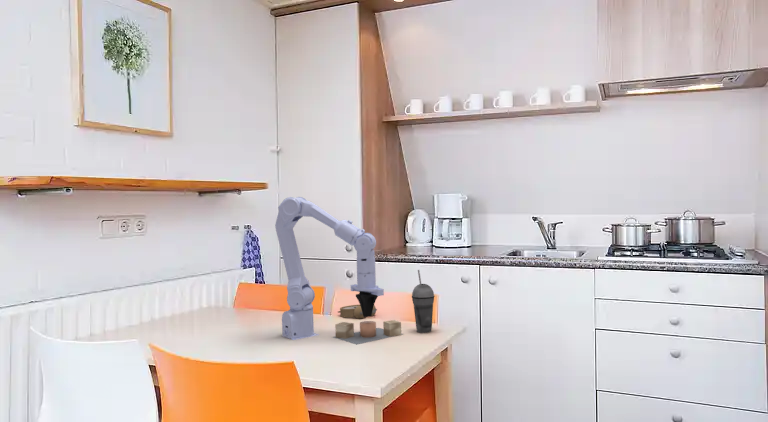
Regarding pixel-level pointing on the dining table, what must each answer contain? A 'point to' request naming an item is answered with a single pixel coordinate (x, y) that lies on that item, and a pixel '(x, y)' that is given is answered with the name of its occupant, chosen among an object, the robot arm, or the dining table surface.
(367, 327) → the tan rounded piece
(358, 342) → the slate mat
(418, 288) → the beverage cup
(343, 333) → the birch cube
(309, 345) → the dining table surface
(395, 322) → the birch cube
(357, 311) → the alarm clock
